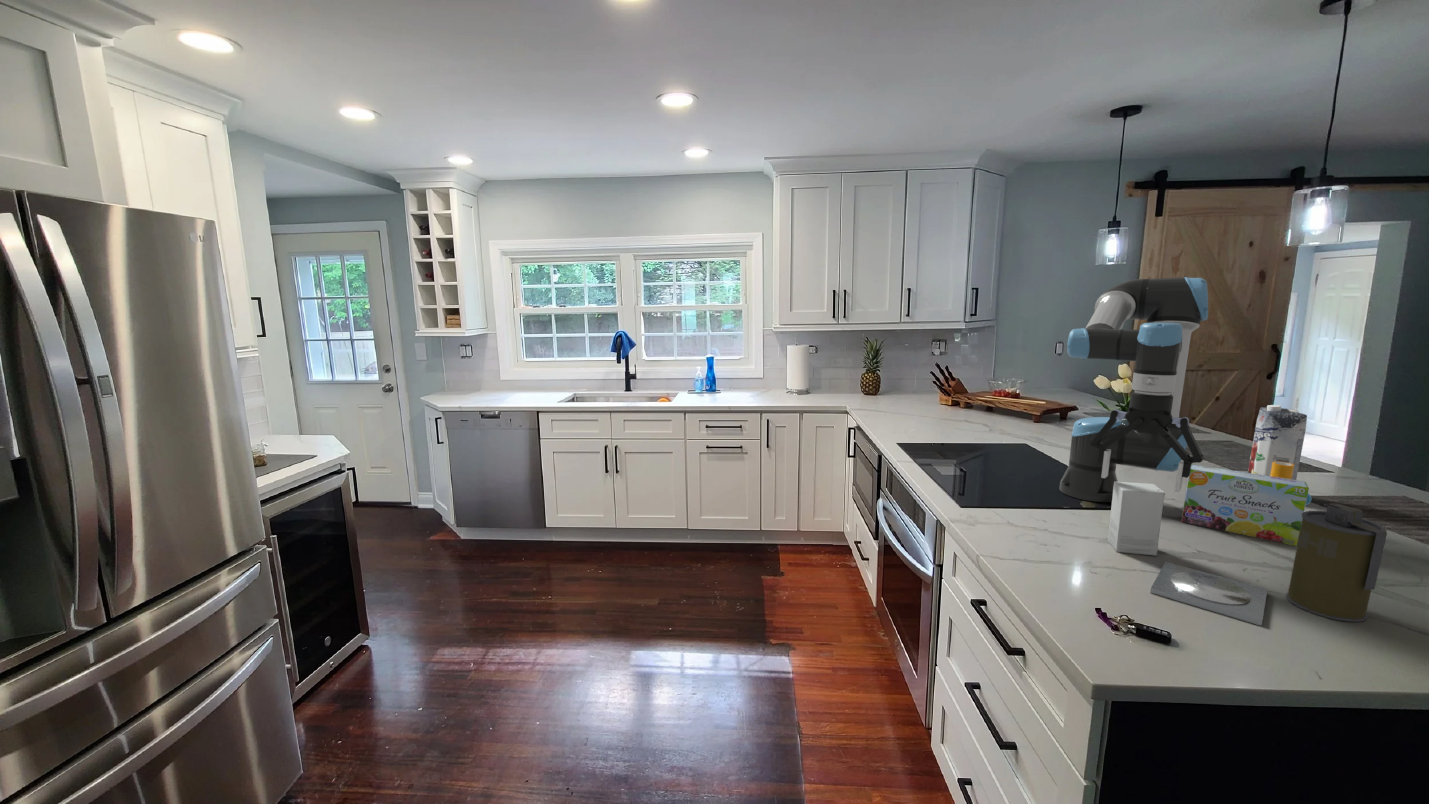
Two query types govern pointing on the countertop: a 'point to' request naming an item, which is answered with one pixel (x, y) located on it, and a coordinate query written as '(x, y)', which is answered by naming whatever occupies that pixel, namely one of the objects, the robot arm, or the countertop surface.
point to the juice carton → (1277, 439)
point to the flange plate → (1211, 592)
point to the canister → (1336, 563)
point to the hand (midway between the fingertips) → (1139, 483)
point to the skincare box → (1135, 518)
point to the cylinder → (1284, 473)
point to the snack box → (1245, 503)
